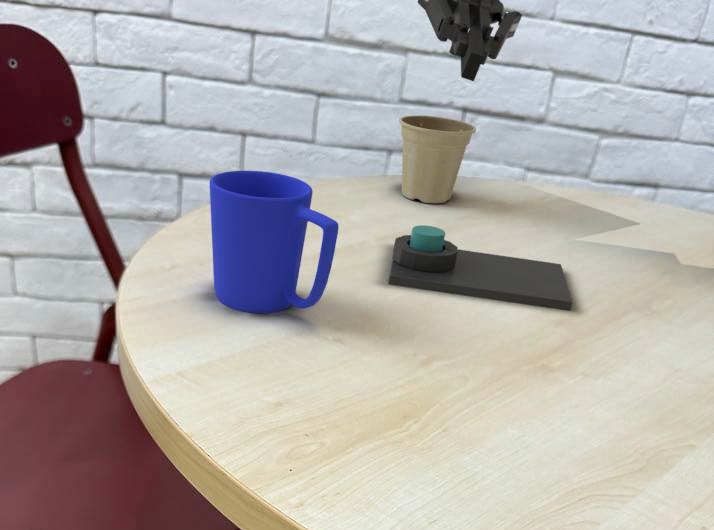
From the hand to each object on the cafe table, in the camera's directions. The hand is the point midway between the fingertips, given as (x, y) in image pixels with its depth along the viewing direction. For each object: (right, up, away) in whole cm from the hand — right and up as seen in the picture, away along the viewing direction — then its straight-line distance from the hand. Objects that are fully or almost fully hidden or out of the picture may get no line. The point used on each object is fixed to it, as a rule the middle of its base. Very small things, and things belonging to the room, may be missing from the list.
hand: (472, 67), depth 93 cm
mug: (-21, -33, -20) cm, 44 cm away
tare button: (-7, -24, -11) cm, 27 cm away
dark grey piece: (-1, -27, -9) cm, 28 cm away
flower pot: (-3, -8, +15) cm, 17 cm away
